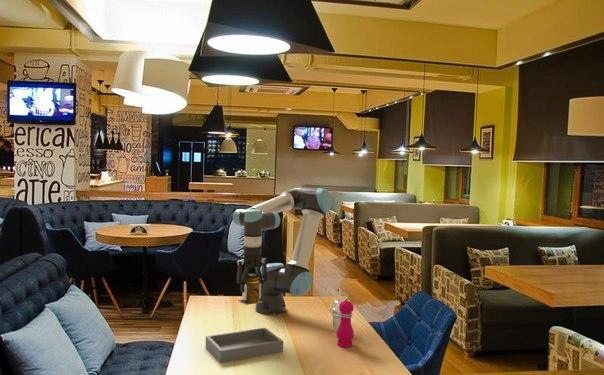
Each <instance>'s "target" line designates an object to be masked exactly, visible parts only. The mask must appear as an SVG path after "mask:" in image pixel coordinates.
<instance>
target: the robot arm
mask: <svg viewBox="0 0 604 375" xmlns="http://www.w3.org/2000/svg"><path fill="white" fill-rule="evenodd" d="M332 206H333V198H332V195H331V192H330V191H329V190H328V189H326V188H321V187H310V186H309V187H308V186H307V187H306V186H299V187H295V188H291V189H288V190H285V191H282V192H281V193H280V194H279V195H278V196H276V197H273V198H271V199H269V200H266V201H264V202H261V203H258V204H256V205H253V206H251V207H248V208H245V209H244V208H240V209H236V210H235V211H234V212H233V214H232V222H233V223H234V224H235V225H237V226H241V227H244V229H243V231H244V232H243V234H244V235H243V245H244V246H243V258H242V259H240V260H239V259H238V260H236V264H237V270H236V272H237V273H236V283H237V284H238V285H240V292H241V293H242V299H241V300H243V299H244V300H246V296H247V285H246V284H245V283H246V279H247V276H248V274H249V273H250V270H251V268H254V270H255V274H258V280H259V301H261V302H262V303H256V304H254V305H255V311H256V312H257V313H260V314H264V315H279V314H282V313H285V312H287V311H286V310H287V308H286V307H287V304H286V301H285V298H284V294H283V293H285V294H289V295H293V296H300V297H301V296H304V295H306V294H307V293H308V292H309V290H310V288H311V286H312V283H313V279H312V277H313V276H312V274H311V273H310V271H311V269H310V268H309V262H310V260H311V255H312V251H313V247H314V244H315V243H314V242H315V239H316V236H317V232H318V228H319V224H320V221H321V219H323V218H324V217H325V214H326V213H329V212H330V211H331V209H332V208H333V207H332ZM291 210H301V213H302V215H303V216H302V220H301V223H300V226H299V230H298V234H297V236H296V240H295V244H294V248H293V251H292V256H291V259H290V261H288V262H287V263H286V266H285V265H284V263H281V262H273V263H268V258H266V257H262V244H263V243H262V241H263V240H262V238H263V237H262V236H263V235H262V234H263V231H267V230H273V229H276V228H278V227H279V226H280V224H281V217H280V214H279V213H281V212H284V211H291ZM260 264H261V265H260ZM243 265H244V270H243Z"/></svg>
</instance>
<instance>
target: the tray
mask: <svg viewBox="0 0 604 375" xmlns="http://www.w3.org/2000/svg"><path fill="white" fill-rule="evenodd" d="M205 348H206V349H207V350H208V352H209V353H210V354H211V355H212V356H213V357H214V358H215V359H216V360H217V362H219V364H221V363H227V362H233V361H239V360H246V359H251V358H257V357H263V356H268V355H270V356H271V355H275V354H281V353H284V340H282V339H281V338H280V337H279V336H277V335H276V334H274V333H273V332H272V331H271V330H269V329H268V328H267V327H260V328H253V329H245V330H240V331H232V332H227V333H219V334H218V333H217V334H212V335H210V334H209V335H205Z"/></svg>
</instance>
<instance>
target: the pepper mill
mask: <svg viewBox="0 0 604 375" xmlns="http://www.w3.org/2000/svg"><path fill="white" fill-rule="evenodd" d="M339 310H340V311H341V312H340V316H341V322H340V325H339V327H338V329H337V332H336V338H337V343H336V345H337V346H338V347H340V348H346V349H347V347H348V348H351V347H352V346H353V339H354V337H355V331H354V329H353V327H352V317H353V311H354V310H355V309H354V303H353V302H352V301H350V299H349V297H348V296H346V297H345V298H344V300H343V301H342V302H341V303H340V305H339Z"/></svg>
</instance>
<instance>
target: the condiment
mask: <svg viewBox="0 0 604 375" xmlns="http://www.w3.org/2000/svg"><path fill="white" fill-rule="evenodd" d="M245 284H246V285H247V296H246V300H244V299H238V300H237V302H239V303H240V304H241V305H243V306H248V305H256V303H262V302H261V301H259V280H258V274H257V273H256V272H255V273H254V272H253V273H252V272H251V273H250V272H249V273H248V276H247V279H246V283H245Z"/></svg>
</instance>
